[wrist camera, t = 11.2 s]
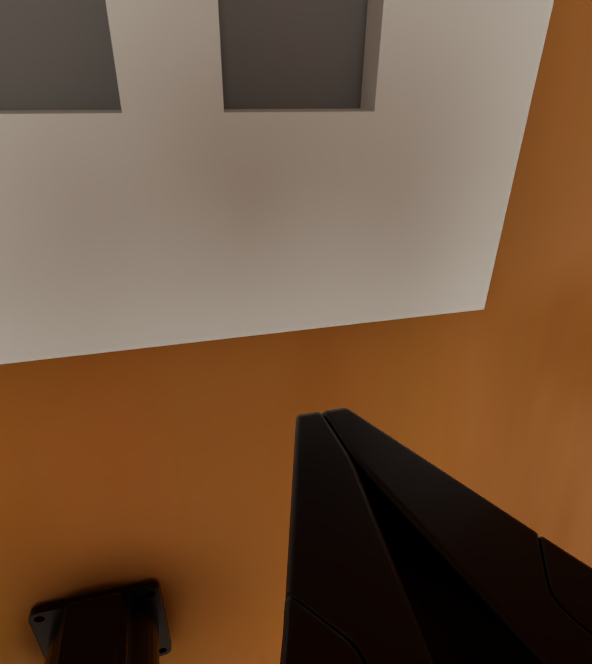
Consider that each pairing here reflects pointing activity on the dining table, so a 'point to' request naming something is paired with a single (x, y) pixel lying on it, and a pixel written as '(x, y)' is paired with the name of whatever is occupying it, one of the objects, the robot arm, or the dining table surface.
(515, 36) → the deck
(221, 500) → the dining table surface
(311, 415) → the robot arm
